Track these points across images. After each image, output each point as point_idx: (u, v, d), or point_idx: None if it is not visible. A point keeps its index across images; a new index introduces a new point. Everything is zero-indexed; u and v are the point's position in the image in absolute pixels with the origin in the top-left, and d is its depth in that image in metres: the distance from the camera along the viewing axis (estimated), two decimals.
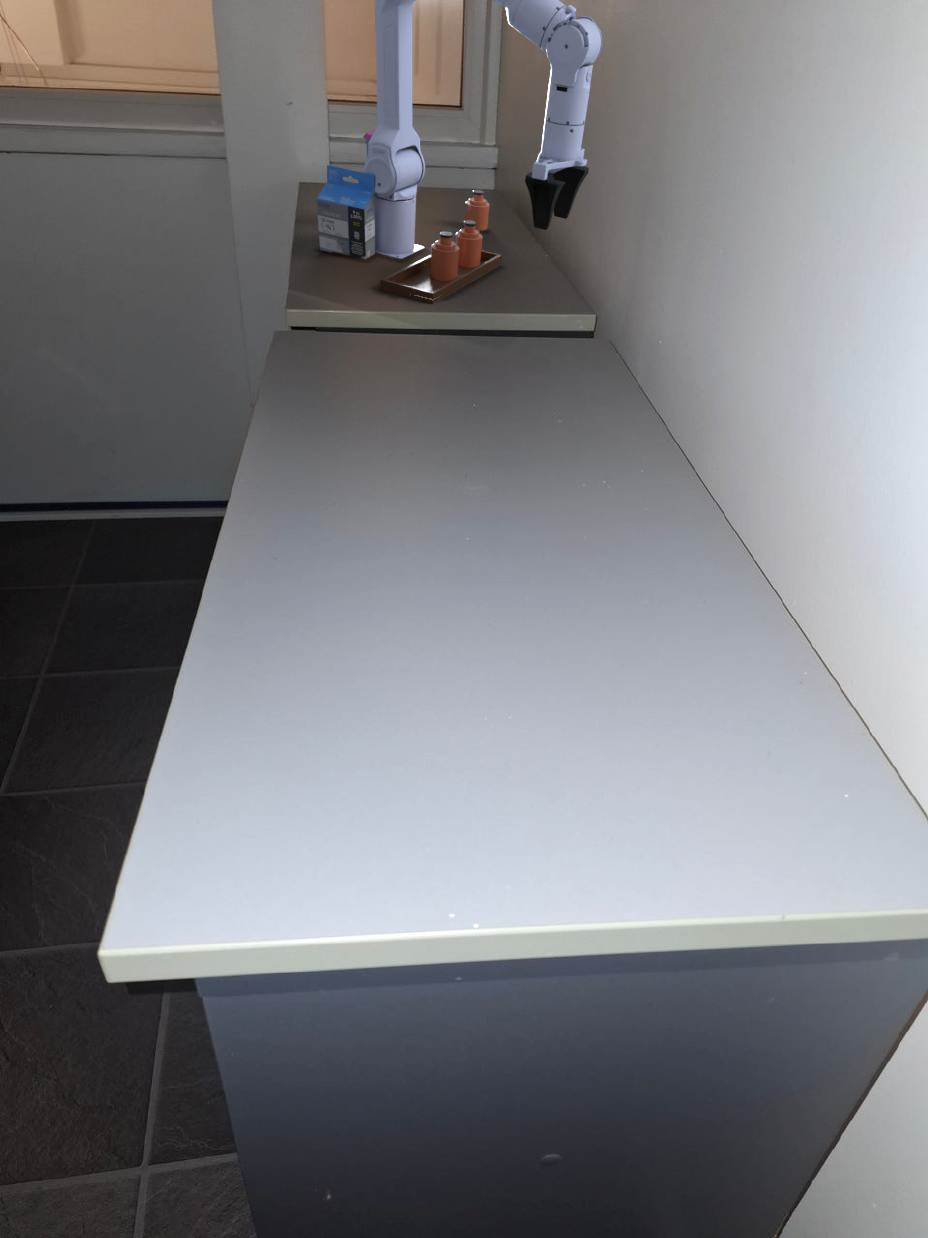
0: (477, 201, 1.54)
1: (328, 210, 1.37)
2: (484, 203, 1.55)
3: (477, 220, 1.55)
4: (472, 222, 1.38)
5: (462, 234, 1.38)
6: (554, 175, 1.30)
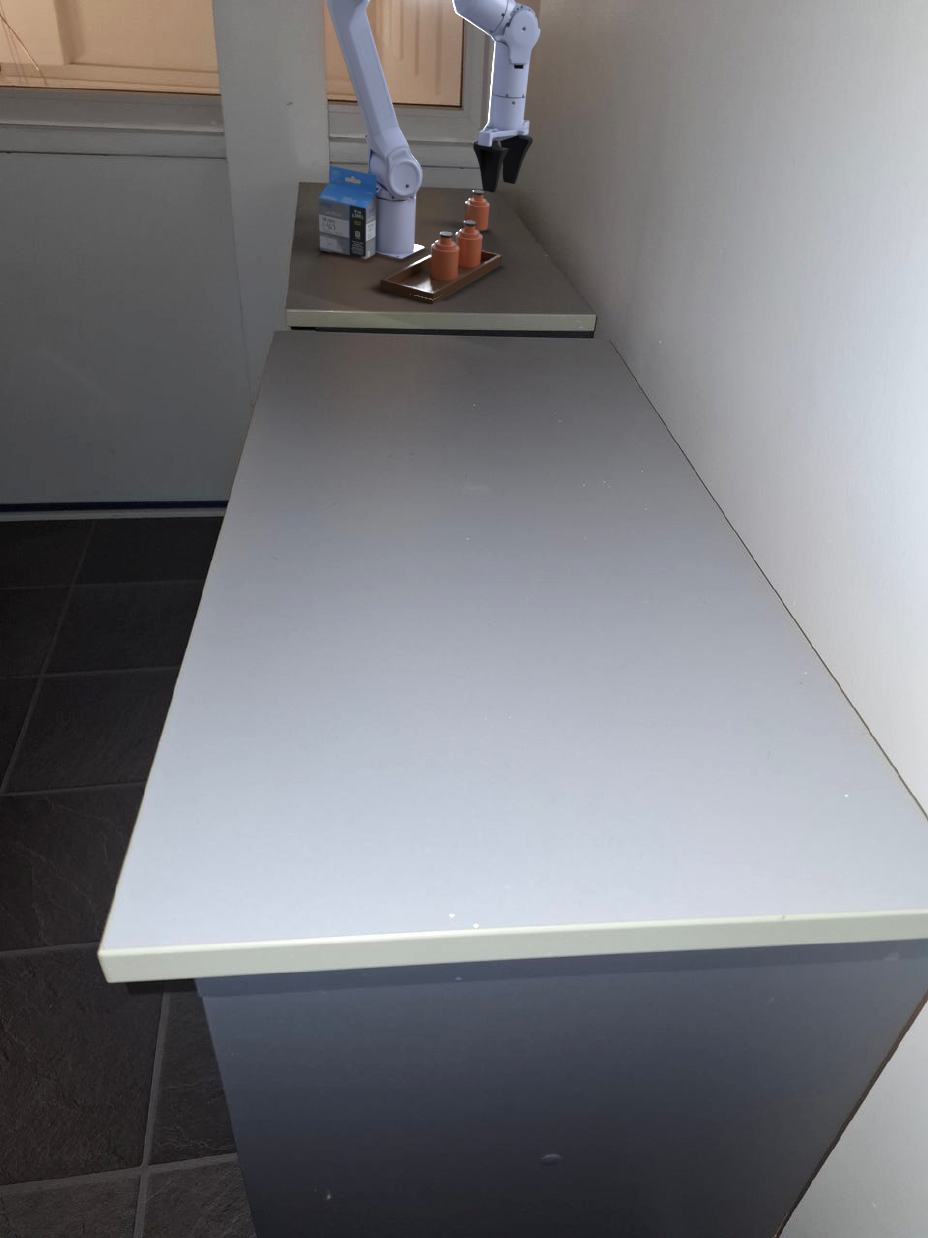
0: (477, 201, 1.54)
1: (329, 209, 1.37)
2: (484, 203, 1.55)
3: (477, 220, 1.55)
4: (472, 222, 1.38)
5: (462, 234, 1.38)
6: (502, 144, 1.45)
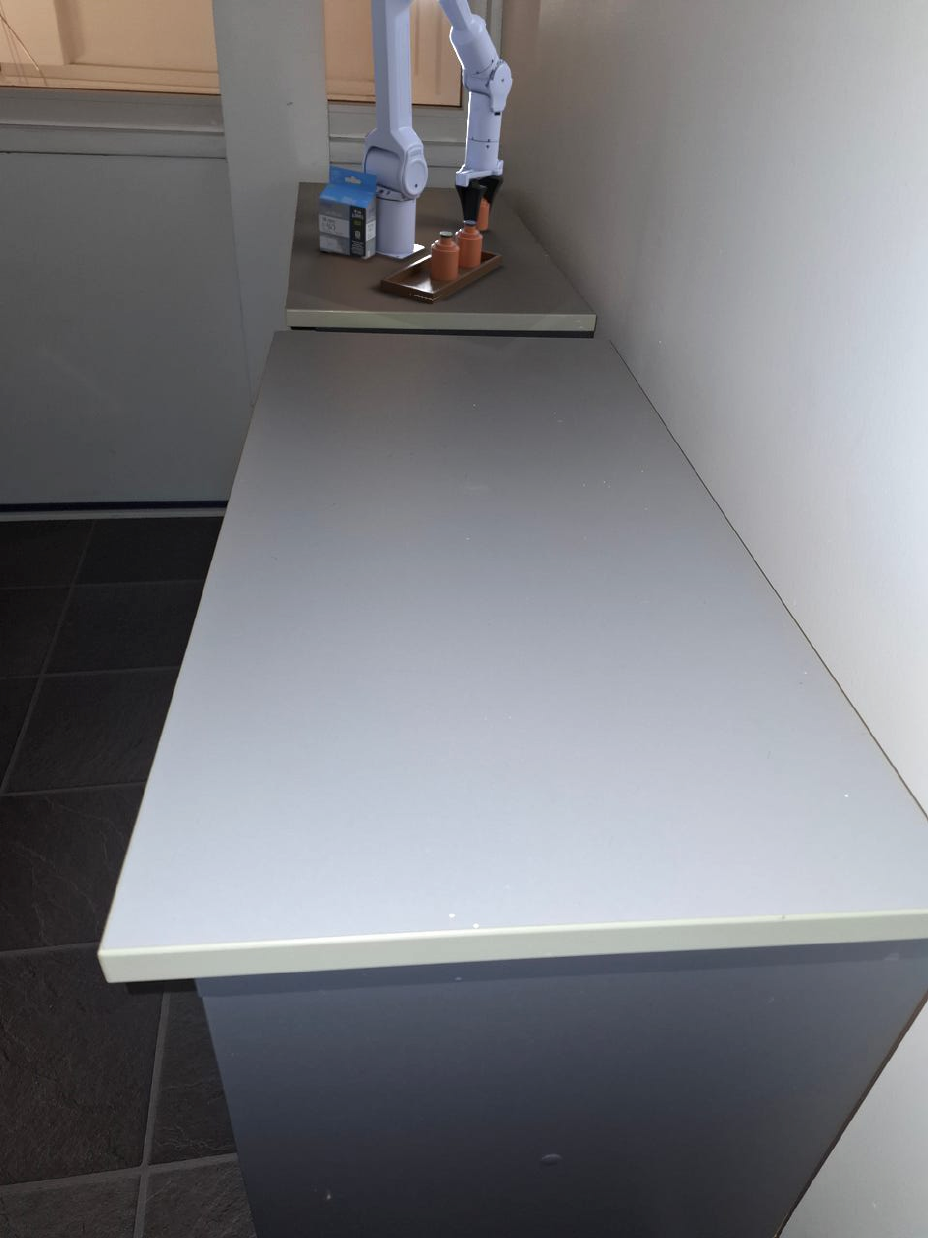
0: None
1: (329, 209, 1.37)
2: (484, 203, 1.55)
3: (477, 220, 1.55)
4: (472, 222, 1.38)
5: (462, 234, 1.38)
6: None
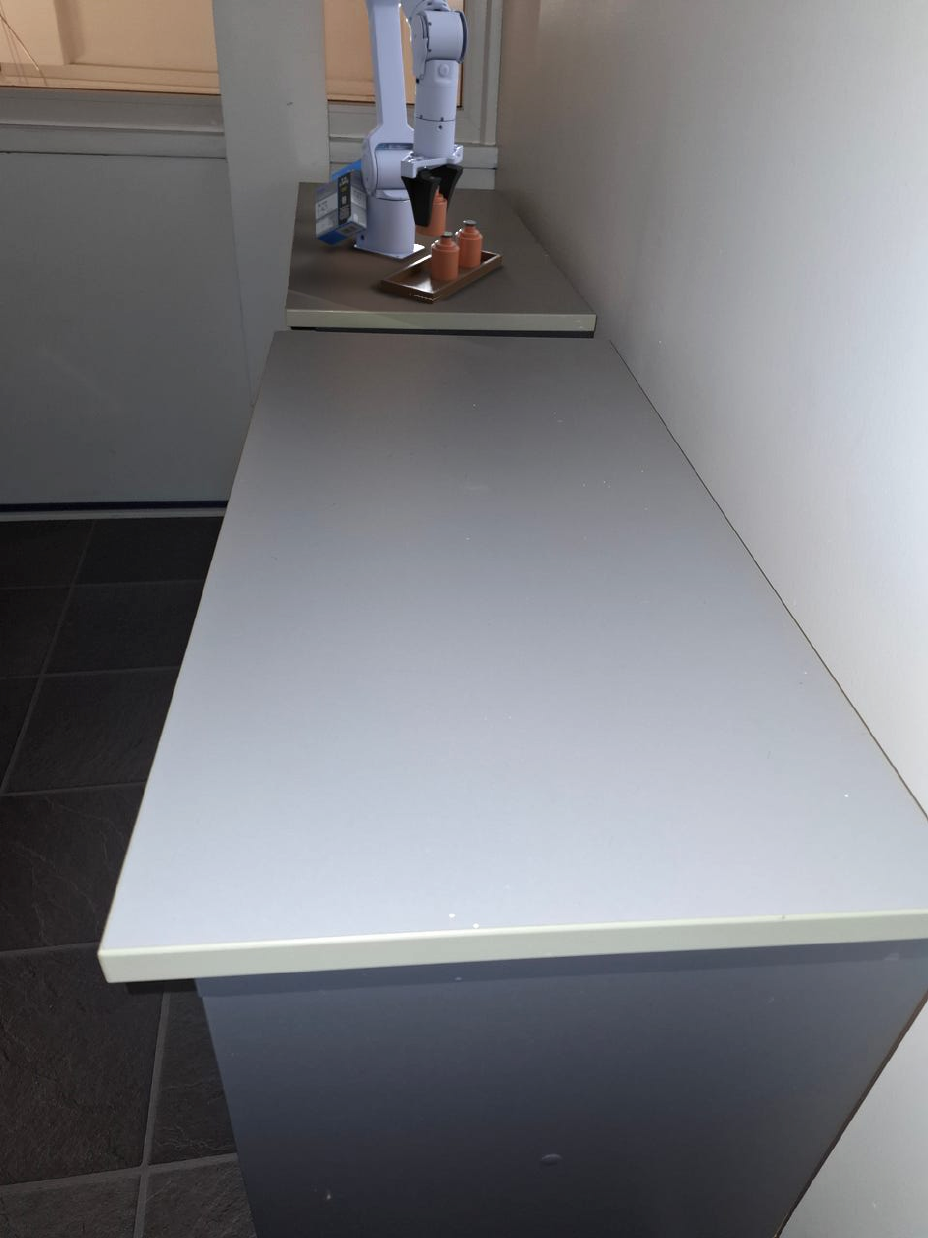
0: None
1: (323, 193, 1.41)
2: (440, 199, 1.23)
3: (431, 220, 1.24)
4: (472, 222, 1.38)
5: (462, 234, 1.38)
6: None
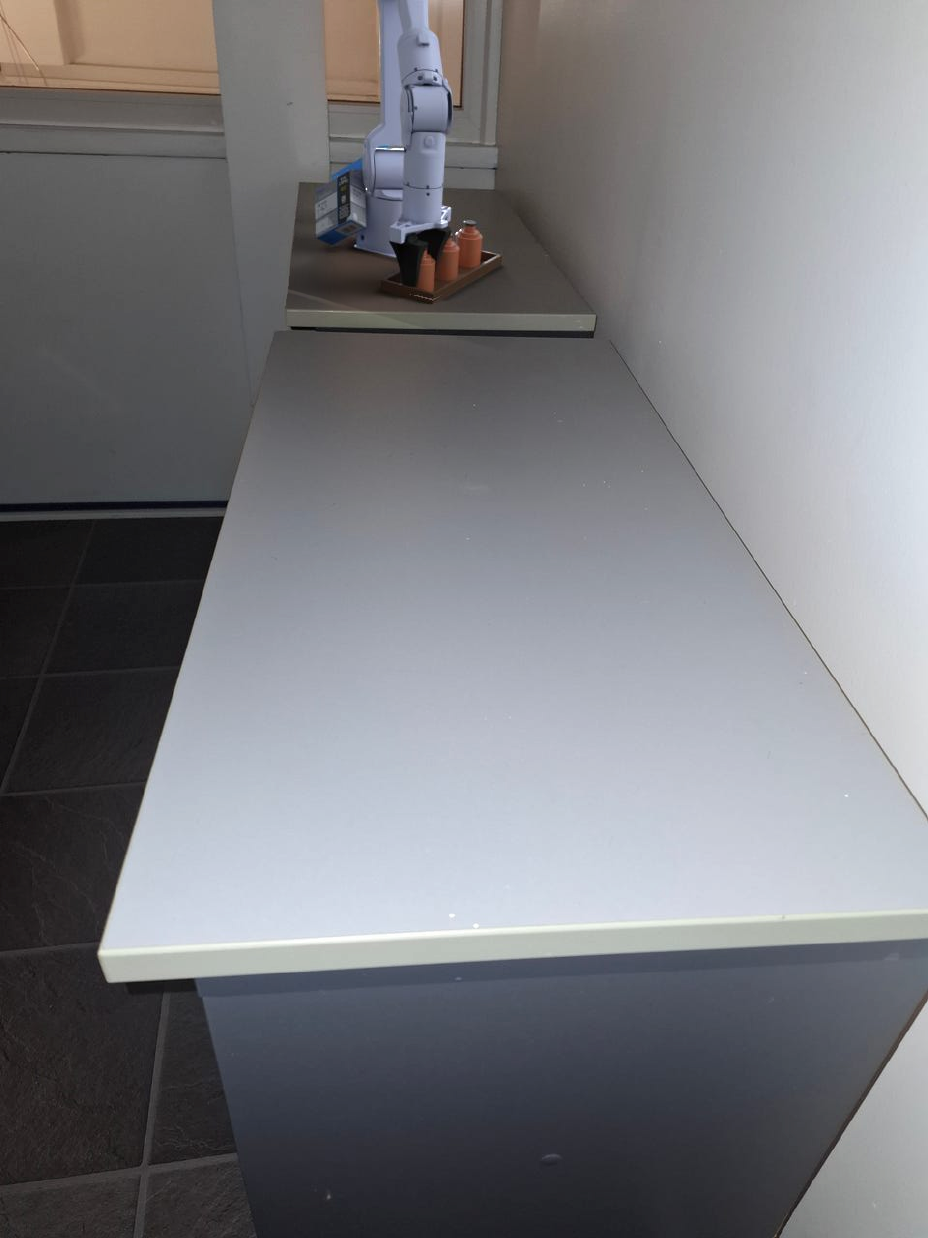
0: None
1: (322, 192, 1.41)
2: (428, 260, 1.27)
3: (419, 281, 1.28)
4: (472, 222, 1.38)
5: (462, 234, 1.38)
6: (418, 235, 1.29)
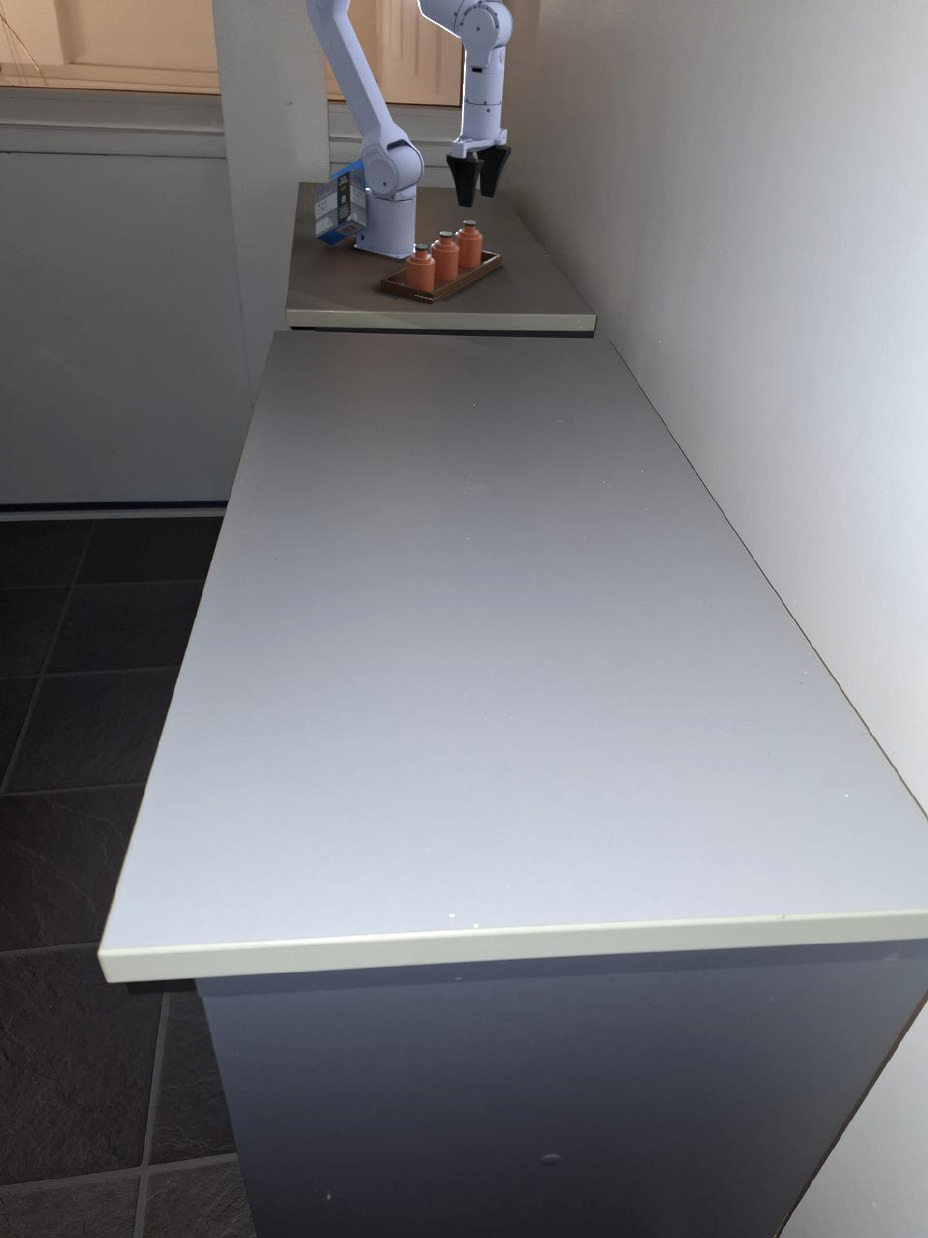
0: (419, 258, 1.26)
1: (322, 193, 1.41)
2: (428, 260, 1.27)
3: (419, 281, 1.28)
4: (472, 222, 1.38)
5: (462, 234, 1.38)
6: (478, 155, 1.34)
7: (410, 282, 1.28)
